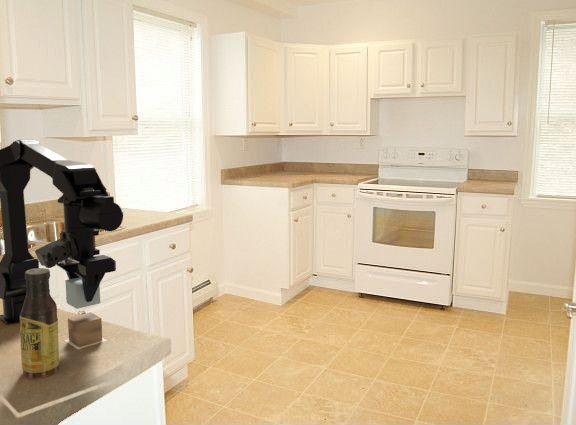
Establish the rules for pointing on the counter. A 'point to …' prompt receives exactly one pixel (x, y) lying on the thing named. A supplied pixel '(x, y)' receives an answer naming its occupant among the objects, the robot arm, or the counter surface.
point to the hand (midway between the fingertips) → (83, 298)
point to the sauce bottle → (39, 327)
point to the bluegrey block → (79, 294)
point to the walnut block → (85, 329)
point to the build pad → (83, 346)
